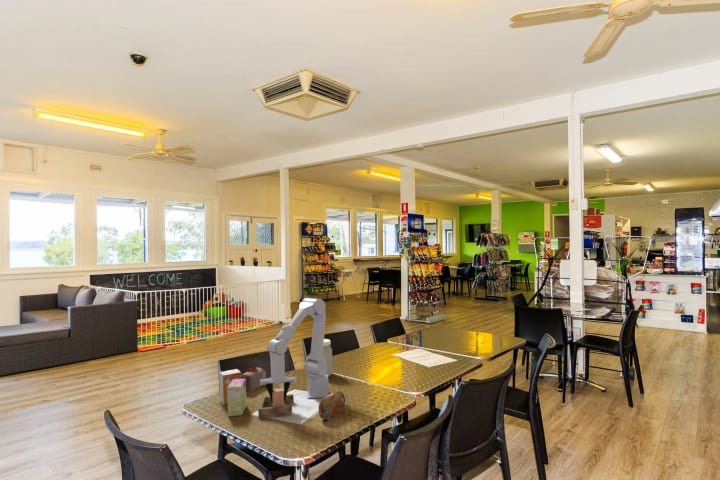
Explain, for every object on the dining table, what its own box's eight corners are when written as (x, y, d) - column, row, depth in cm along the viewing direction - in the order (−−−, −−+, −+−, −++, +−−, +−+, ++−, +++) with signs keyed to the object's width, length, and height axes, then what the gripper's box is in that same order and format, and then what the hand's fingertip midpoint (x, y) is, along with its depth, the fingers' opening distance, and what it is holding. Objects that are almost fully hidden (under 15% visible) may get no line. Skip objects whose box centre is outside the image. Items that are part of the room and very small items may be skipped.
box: (233, 406, 177) (232, 379, 177) (246, 405, 178) (246, 378, 178) (227, 416, 167) (226, 387, 167) (241, 415, 167) (241, 386, 168)
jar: (325, 370, 224) (324, 337, 224) (336, 374, 217) (335, 340, 217) (310, 375, 218) (309, 340, 218) (321, 379, 210) (320, 343, 211)
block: (284, 402, 175) (284, 388, 175) (283, 406, 170) (283, 392, 170) (273, 403, 174) (273, 389, 174) (272, 407, 170) (272, 392, 170)
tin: (324, 423, 158) (323, 401, 158) (317, 421, 159) (316, 399, 159) (346, 409, 170) (345, 389, 171) (339, 408, 172) (339, 387, 172)
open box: (293, 402, 180) (293, 394, 180) (292, 415, 166) (291, 406, 166) (262, 404, 179) (262, 396, 179) (258, 418, 164) (258, 409, 164)
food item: (253, 383, 208) (252, 363, 208) (267, 384, 206) (266, 364, 206) (237, 392, 195) (237, 371, 195) (252, 393, 193) (252, 372, 193)
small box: (223, 405, 179) (222, 375, 179) (219, 401, 184) (218, 371, 184) (242, 401, 183) (241, 371, 183) (237, 397, 189) (236, 368, 189)
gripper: (258, 372, 168) (259, 405, 168) (294, 370, 169) (295, 403, 169) (261, 367, 175) (261, 399, 175) (295, 365, 176) (296, 397, 176)
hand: (278, 401), depth 172 cm, fingers closed on block, 4 cm apart
